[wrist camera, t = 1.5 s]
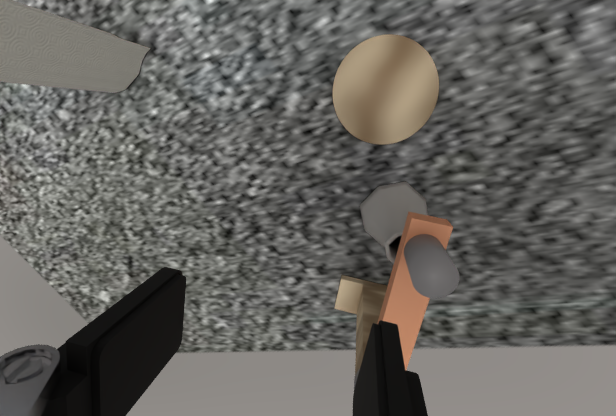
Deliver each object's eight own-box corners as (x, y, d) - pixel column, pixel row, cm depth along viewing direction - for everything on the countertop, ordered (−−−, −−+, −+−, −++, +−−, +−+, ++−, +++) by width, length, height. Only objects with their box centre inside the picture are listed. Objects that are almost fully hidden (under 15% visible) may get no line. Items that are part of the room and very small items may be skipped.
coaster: (450, 45, 30) (452, 43, 29) (420, 152, 33) (422, 153, 32) (344, 29, 31) (343, 26, 30) (324, 134, 34) (324, 134, 33)
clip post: (410, 291, 37) (434, 377, 25) (401, 320, 38) (419, 417, 26) (341, 274, 38) (331, 350, 26) (335, 303, 39) (322, 390, 27)
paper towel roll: (84, 82, 37) (-259, 39, 16) (91, 25, 35) (-287, -102, 15) (141, 104, 36) (-138, 88, 16) (151, 48, 34) (-151, -50, 14)
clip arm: (455, 221, 21) (482, 251, 16) (394, 405, 26) (402, 471, 21) (400, 209, 21) (411, 236, 17) (350, 393, 26) (347, 455, 21)
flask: (379, 255, 37) (385, 304, 27) (348, 201, 36) (342, 232, 26) (440, 227, 35) (470, 268, 25) (409, 169, 34) (427, 189, 24)
